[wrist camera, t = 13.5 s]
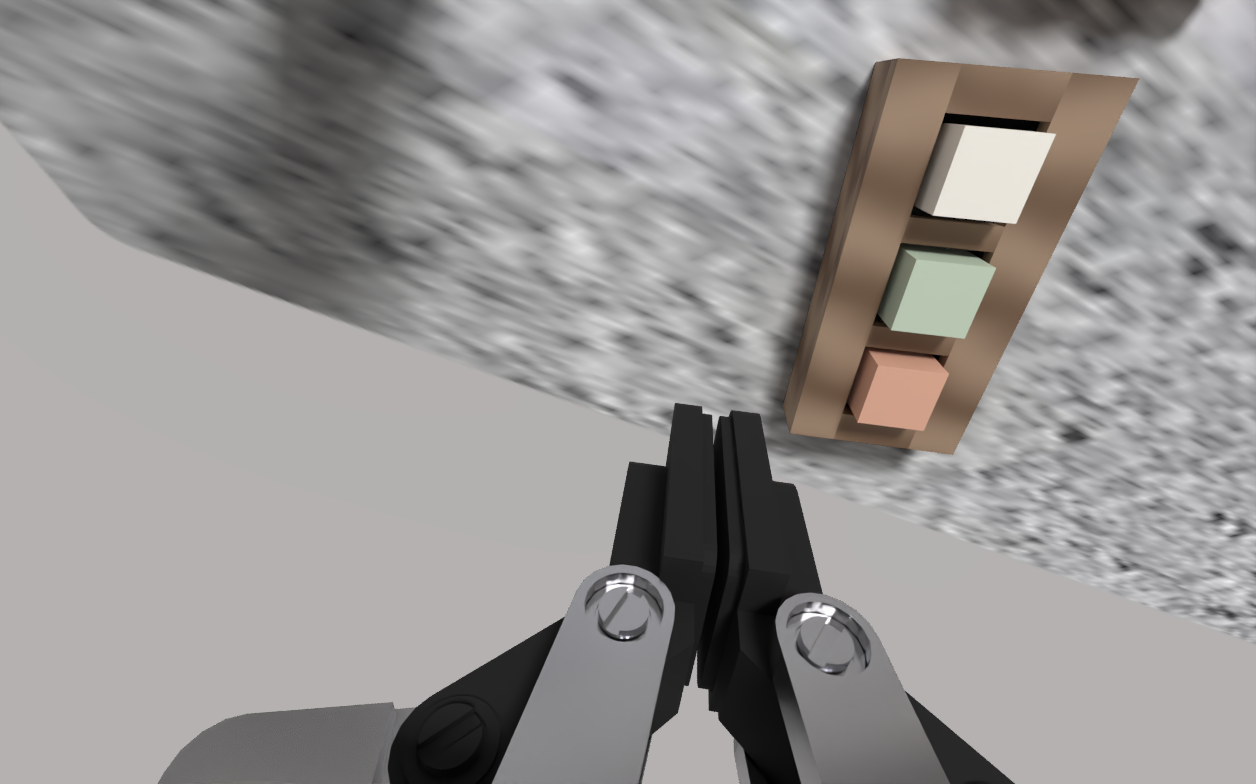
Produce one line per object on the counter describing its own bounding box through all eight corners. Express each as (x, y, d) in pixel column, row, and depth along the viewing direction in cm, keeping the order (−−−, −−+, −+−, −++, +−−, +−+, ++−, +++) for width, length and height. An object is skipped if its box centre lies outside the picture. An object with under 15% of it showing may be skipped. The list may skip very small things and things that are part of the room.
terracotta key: (861, 340, 37) (878, 365, 34) (925, 347, 37) (949, 374, 33) (843, 393, 39) (857, 422, 36) (904, 401, 39) (923, 430, 36)
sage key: (894, 242, 34) (916, 259, 30) (965, 250, 33) (996, 268, 30) (872, 307, 36) (890, 330, 33) (938, 315, 36) (964, 338, 32)
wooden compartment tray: (875, 62, 30) (898, 58, 27) (1088, 80, 30) (1139, 78, 26) (782, 406, 43) (790, 433, 39) (932, 425, 42) (952, 454, 38)
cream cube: (935, 122, 30) (965, 125, 27) (1015, 129, 30) (1056, 133, 26) (907, 202, 32) (932, 215, 29) (982, 210, 32) (1015, 224, 29)
